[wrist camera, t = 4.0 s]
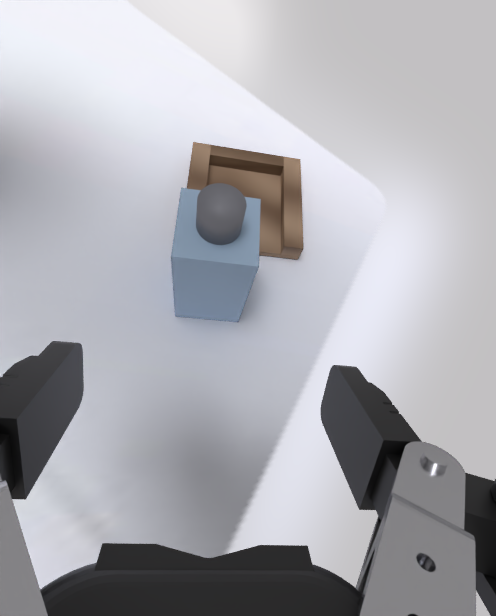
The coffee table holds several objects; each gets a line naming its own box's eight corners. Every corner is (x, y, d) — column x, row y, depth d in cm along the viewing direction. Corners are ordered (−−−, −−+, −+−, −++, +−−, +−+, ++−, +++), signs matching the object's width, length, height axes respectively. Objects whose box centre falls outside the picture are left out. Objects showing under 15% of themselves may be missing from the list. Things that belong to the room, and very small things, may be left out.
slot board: (297, 259, 30) (303, 248, 29) (180, 245, 29) (180, 233, 27) (295, 172, 34) (300, 159, 33) (192, 156, 33) (193, 142, 31)
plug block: (237, 322, 27) (266, 246, 18) (175, 316, 26) (169, 234, 17) (240, 268, 29) (267, 174, 20) (182, 261, 28) (181, 161, 19)
